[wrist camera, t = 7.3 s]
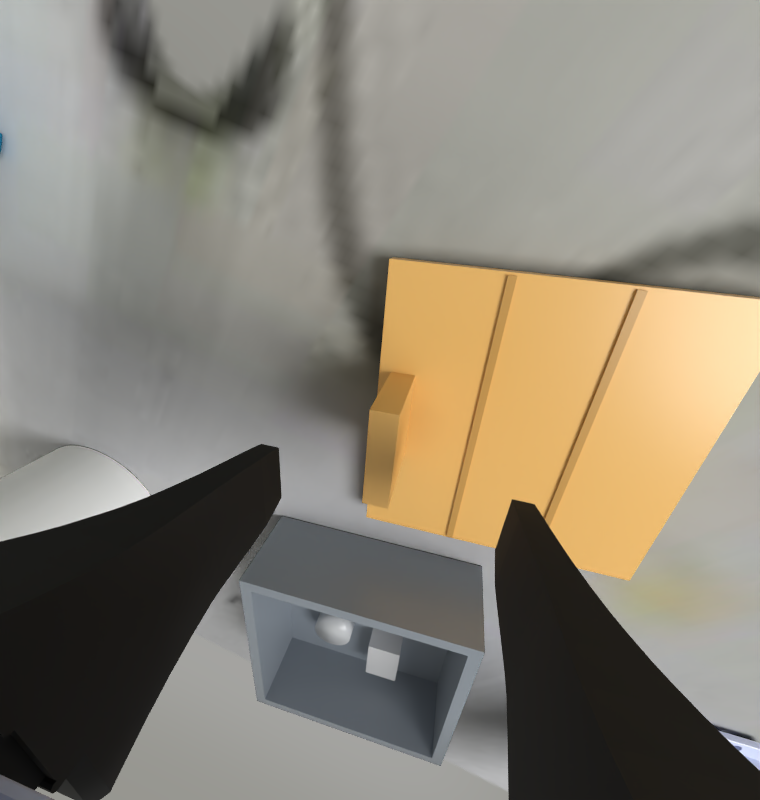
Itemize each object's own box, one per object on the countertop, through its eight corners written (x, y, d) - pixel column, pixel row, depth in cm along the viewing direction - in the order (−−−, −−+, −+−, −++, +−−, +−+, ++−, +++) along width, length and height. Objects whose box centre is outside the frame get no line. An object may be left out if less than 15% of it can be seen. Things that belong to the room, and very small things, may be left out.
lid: (764, 296, 12) (940, 334, 7) (617, 554, 17) (667, 663, 13) (397, 256, 14) (362, 267, 9) (373, 497, 19) (345, 574, 15)
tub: (481, 566, 19) (484, 652, 15) (445, 680, 25) (440, 765, 21) (282, 516, 21) (238, 580, 17) (288, 631, 27) (257, 700, 23)
